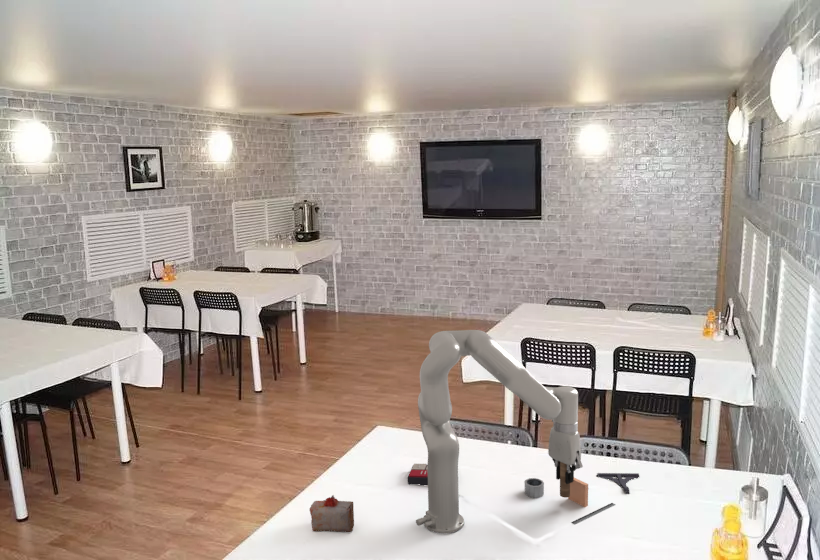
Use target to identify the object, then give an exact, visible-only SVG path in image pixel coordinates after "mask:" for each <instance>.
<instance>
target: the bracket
mask: <svg viewBox="0 0 820 560" xmlns="http://www.w3.org/2000/svg"><path fill="white" fill-rule="evenodd" d="M596 474H597V477H598V478H600V479H605V480H608V479H609V480H608V481H612V482H614V483H615V484H617V483H618V484H617V485H618V486H620V487H621V486H622V487H621V488H623V491H624V492H625V494H626V495H629V494H631V493H630V488H629V486H627V484H628V482H630V481H632V480H635V479H634V478H636V479H639V478H640V473H636V472H635V473H633V472H632V473H631V472H629V473H627V472H625V473H623V472H622V473H621V472H620V473H617V472H615V473H613V472H598V473H596ZM638 477H639V478H638ZM617 478H618V479H617ZM631 479H632V480H631ZM629 480H630V481H629ZM626 483H627V484H626Z"/></svg>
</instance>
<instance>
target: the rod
mask: <svg viewBox="0 0 820 560" xmlns="http://www.w3.org/2000/svg"><path fill="white" fill-rule="evenodd" d="M566 472H567V464H564V463H562V462H560V479H559V495H560V497H562V498H568V497H570V483H569V484H566V483H565V473H566Z"/></svg>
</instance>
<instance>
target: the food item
mask: <svg viewBox="0 0 820 560" xmlns="http://www.w3.org/2000/svg"><path fill="white" fill-rule="evenodd" d="M309 513H310V516H311V520H310V521H311V530H312V532H334V533H352V532H353V531H354V527H355V515H354V514H355V513H354V501H347V500H345V501H344V500H338V499H337V498H336V497H335V495H334V494H332V495H331V497H330V496H329V497H327V498H325V500H314V501H313V502H312V504H310V507H309Z"/></svg>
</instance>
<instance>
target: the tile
mask: <svg viewBox="0 0 820 560" xmlns="http://www.w3.org/2000/svg"><path fill="white" fill-rule="evenodd" d="M567 498H568V500H570V501H571V502H573V503H576V504H578V505H580V506H582V507H584V508H586V507H588V506H589V483H587V482H586V481H583V480H580V479H578V478H576V477H574V481H573V482H572V483H570V497H567Z"/></svg>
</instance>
